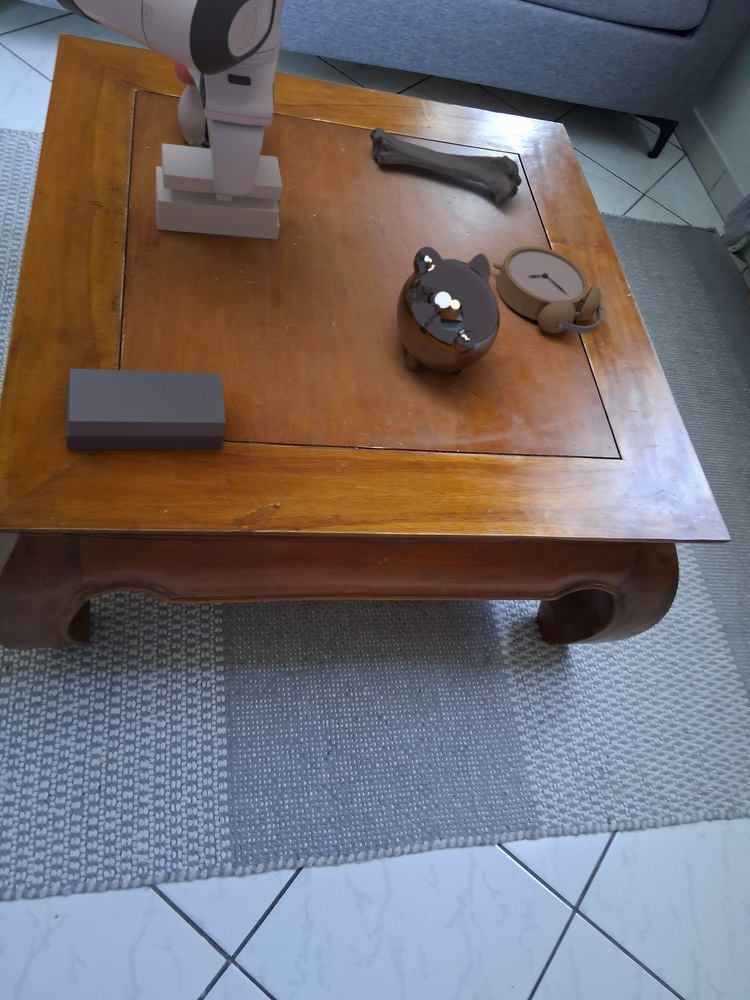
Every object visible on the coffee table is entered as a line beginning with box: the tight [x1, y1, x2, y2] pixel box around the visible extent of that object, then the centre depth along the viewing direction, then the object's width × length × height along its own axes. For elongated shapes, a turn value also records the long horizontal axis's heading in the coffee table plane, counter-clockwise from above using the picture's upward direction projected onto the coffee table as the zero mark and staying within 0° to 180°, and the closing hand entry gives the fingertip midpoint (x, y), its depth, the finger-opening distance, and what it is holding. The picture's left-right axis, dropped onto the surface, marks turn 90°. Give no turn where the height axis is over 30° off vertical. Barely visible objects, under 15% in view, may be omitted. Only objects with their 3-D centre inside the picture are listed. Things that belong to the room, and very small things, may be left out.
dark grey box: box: [65, 368, 227, 451], centre depth 72 cm, size 14×6×4 cm, turn 100°
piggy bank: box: [395, 246, 501, 375], centre depth 84 cm, size 11×15×12 cm
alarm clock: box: [492, 245, 603, 334], centre depth 97 cm, size 11×5×15 cm
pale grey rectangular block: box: [161, 142, 283, 201], centre depth 86 cm, size 13×6×2 cm, turn 100°
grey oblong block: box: [155, 166, 281, 240], centre depth 90 cm, size 14×6×4 cm, turn 100°
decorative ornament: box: [173, 61, 210, 149], centre depth 93 cm, size 9×6×15 cm
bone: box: [369, 126, 523, 207], centre depth 105 cm, size 22×6×6 cm, turn 83°
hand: (221, 177), depth 87 cm, fingers closed on pale grey rectangular block, 5 cm apart
